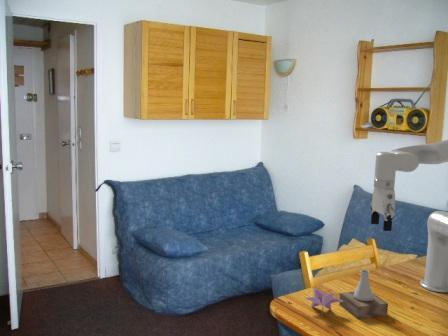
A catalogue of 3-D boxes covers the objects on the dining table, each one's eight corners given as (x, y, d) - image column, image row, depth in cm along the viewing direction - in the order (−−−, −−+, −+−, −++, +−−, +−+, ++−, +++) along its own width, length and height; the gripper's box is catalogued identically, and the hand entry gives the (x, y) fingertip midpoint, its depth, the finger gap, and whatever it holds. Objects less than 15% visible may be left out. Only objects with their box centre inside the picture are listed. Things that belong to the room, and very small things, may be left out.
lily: (346, 319, 164) (344, 290, 168) (332, 316, 155) (330, 287, 159) (315, 319, 171) (314, 292, 174) (300, 317, 162) (299, 289, 165)
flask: (370, 294, 172) (372, 268, 171) (376, 302, 165) (378, 275, 163) (350, 293, 172) (352, 267, 171) (355, 301, 165) (357, 274, 164)
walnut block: (367, 302, 177) (368, 289, 176) (387, 316, 165) (388, 303, 165) (339, 305, 173) (340, 292, 172) (357, 320, 162) (358, 306, 161)
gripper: (405, 188, 172) (401, 233, 175) (382, 180, 189) (378, 221, 192) (386, 188, 171) (382, 233, 173) (364, 180, 188) (361, 221, 190)
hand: (380, 227), depth 182 cm, fingers open, 9 cm apart
